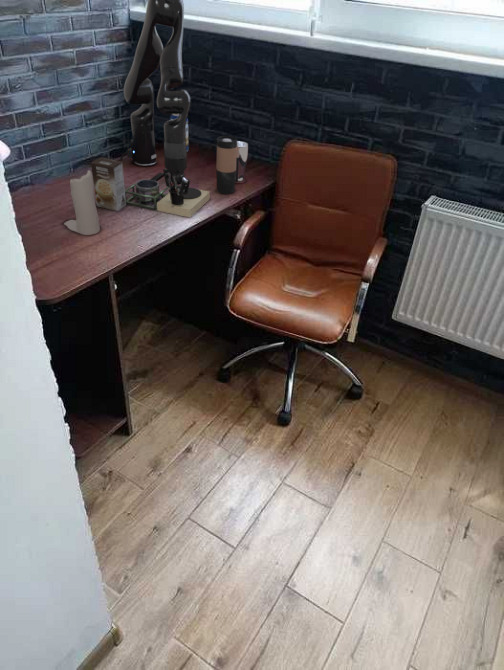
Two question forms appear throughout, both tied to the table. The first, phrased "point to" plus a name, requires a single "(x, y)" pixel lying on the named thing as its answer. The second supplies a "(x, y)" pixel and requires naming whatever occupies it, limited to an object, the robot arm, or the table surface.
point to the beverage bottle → (186, 128)
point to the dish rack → (143, 196)
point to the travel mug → (226, 164)
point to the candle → (84, 206)
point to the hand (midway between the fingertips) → (177, 201)
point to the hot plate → (183, 205)
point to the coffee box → (109, 183)
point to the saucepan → (148, 189)
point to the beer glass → (241, 161)
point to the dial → (174, 196)
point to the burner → (192, 193)
